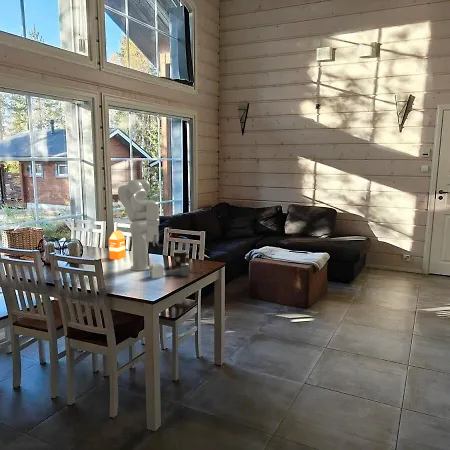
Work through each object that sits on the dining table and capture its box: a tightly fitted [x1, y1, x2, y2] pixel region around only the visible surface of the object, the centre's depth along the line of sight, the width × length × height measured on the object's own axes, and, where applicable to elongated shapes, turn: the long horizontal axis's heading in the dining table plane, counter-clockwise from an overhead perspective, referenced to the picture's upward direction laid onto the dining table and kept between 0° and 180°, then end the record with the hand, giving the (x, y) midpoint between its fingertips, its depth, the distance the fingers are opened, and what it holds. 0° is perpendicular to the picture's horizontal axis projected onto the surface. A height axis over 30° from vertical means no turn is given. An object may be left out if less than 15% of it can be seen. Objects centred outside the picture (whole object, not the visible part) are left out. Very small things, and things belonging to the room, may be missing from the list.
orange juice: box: [108, 229, 126, 261], centre depth 296 cm, size 8×9×20 cm
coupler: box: [165, 262, 190, 277], centre depth 254 cm, size 7×14×7 cm, turn 95°
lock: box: [148, 263, 165, 280], centre depth 249 cm, size 6×7×8 cm
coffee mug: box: [173, 249, 192, 268], centre depth 274 cm, size 12×9×10 cm
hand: (153, 250), depth 245 cm, fingers open, 9 cm apart
